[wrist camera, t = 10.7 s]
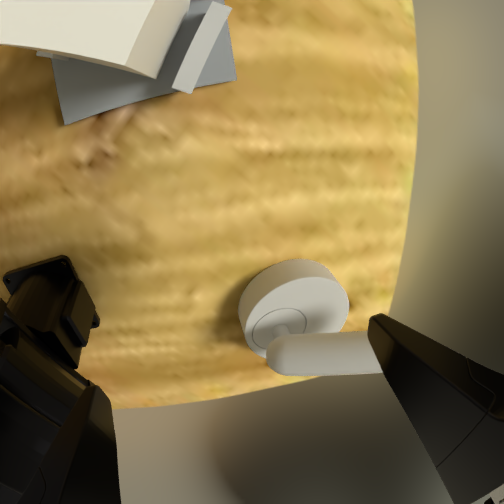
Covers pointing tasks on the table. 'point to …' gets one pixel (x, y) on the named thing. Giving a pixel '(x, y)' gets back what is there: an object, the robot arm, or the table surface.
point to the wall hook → (303, 322)
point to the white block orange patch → (96, 30)
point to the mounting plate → (169, 78)
